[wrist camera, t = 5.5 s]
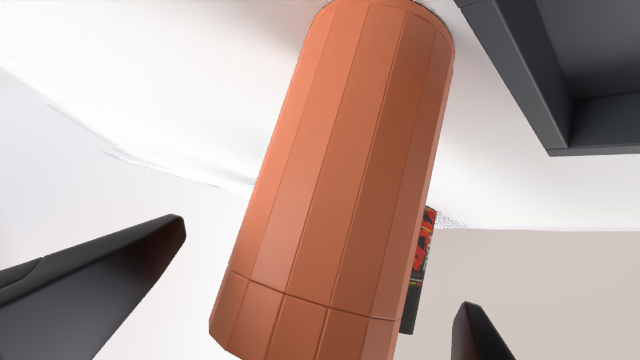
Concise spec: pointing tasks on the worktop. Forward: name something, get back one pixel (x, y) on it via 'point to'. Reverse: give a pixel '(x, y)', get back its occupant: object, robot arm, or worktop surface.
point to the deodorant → (417, 272)
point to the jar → (340, 190)
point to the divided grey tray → (567, 68)
